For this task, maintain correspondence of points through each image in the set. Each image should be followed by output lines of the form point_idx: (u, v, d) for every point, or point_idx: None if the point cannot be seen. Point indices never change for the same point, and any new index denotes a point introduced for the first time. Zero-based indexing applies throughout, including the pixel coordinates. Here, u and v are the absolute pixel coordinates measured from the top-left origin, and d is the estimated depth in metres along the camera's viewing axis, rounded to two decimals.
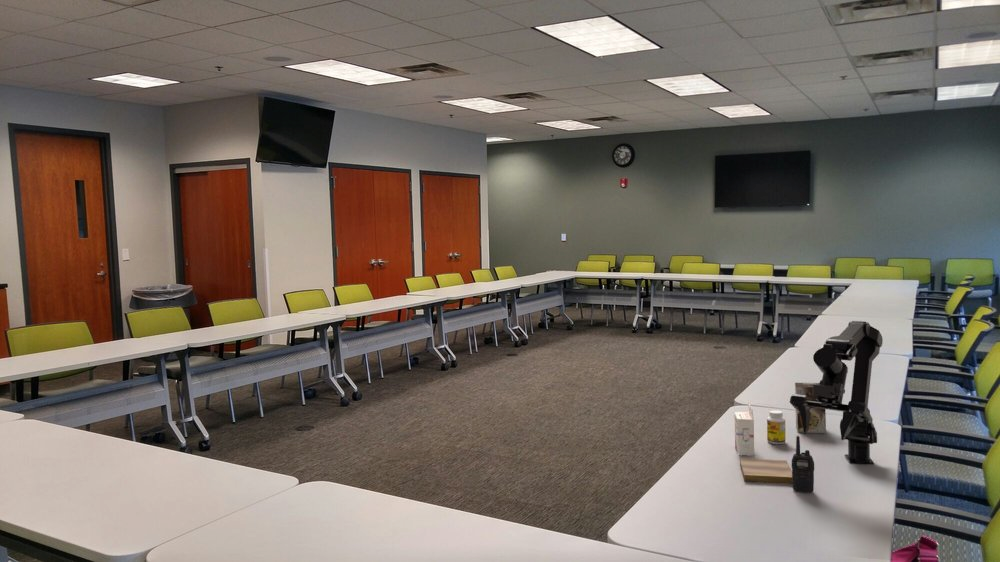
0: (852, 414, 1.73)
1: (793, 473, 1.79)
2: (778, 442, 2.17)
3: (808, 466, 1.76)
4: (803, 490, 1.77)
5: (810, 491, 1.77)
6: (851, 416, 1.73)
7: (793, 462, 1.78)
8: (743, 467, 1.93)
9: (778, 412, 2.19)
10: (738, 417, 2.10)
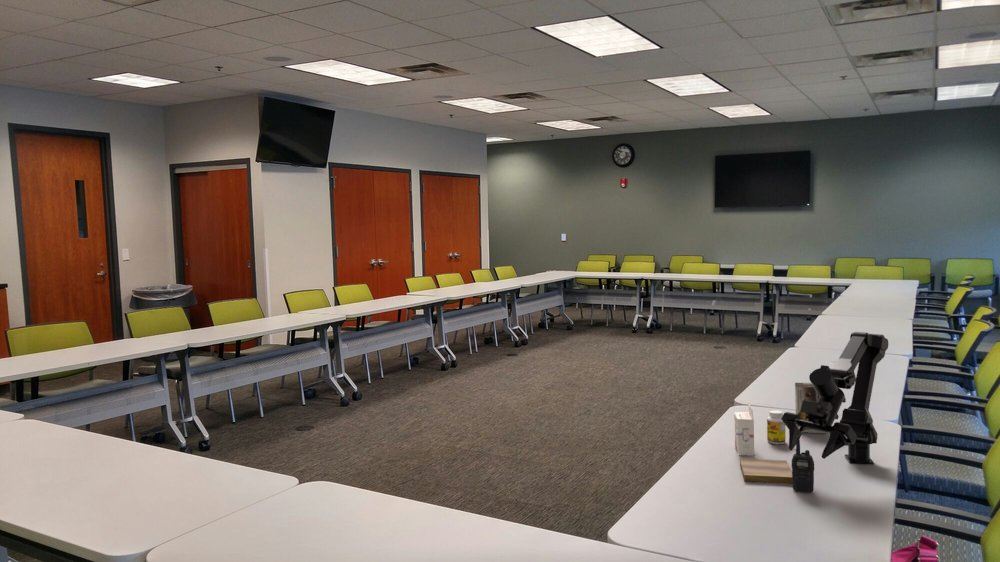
0: (835, 433, 1.75)
1: (793, 473, 1.79)
2: (778, 442, 2.17)
3: (808, 466, 1.76)
4: (803, 490, 1.77)
5: (810, 491, 1.77)
6: (834, 435, 1.76)
7: (793, 462, 1.78)
8: (743, 467, 1.93)
9: (778, 412, 2.19)
10: (738, 417, 2.10)
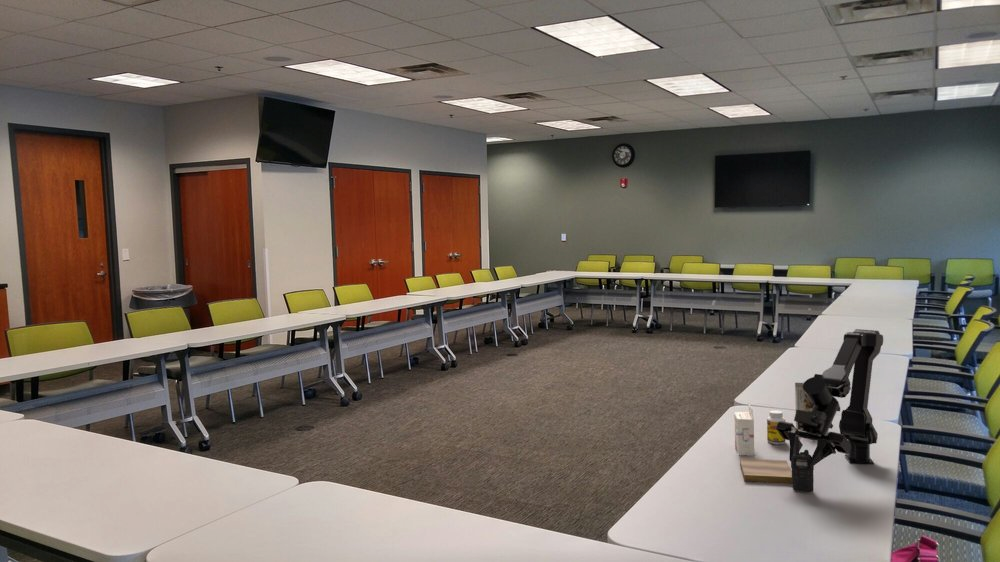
0: (823, 442, 1.75)
1: (793, 473, 1.79)
2: (778, 442, 2.17)
3: (807, 466, 1.77)
4: (803, 490, 1.77)
5: (810, 491, 1.77)
6: (822, 444, 1.75)
7: (792, 462, 1.78)
8: (743, 467, 1.93)
9: (778, 412, 2.19)
10: (738, 417, 2.10)
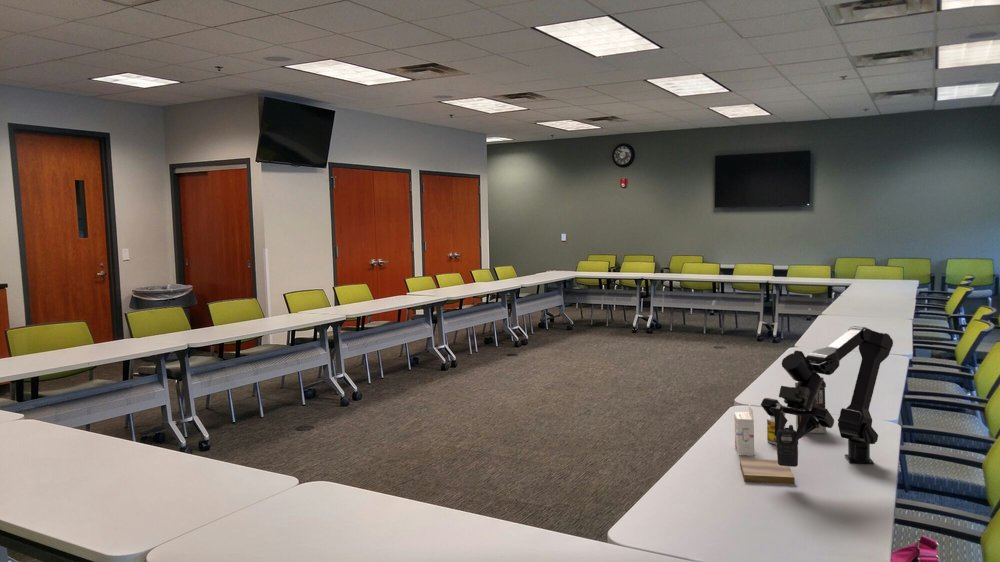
0: (807, 416, 1.79)
1: (778, 448, 1.83)
2: None
3: (792, 441, 1.81)
4: (788, 464, 1.81)
5: (795, 465, 1.81)
6: (806, 418, 1.80)
7: (777, 437, 1.83)
8: (743, 467, 1.93)
9: None
10: (738, 417, 2.10)
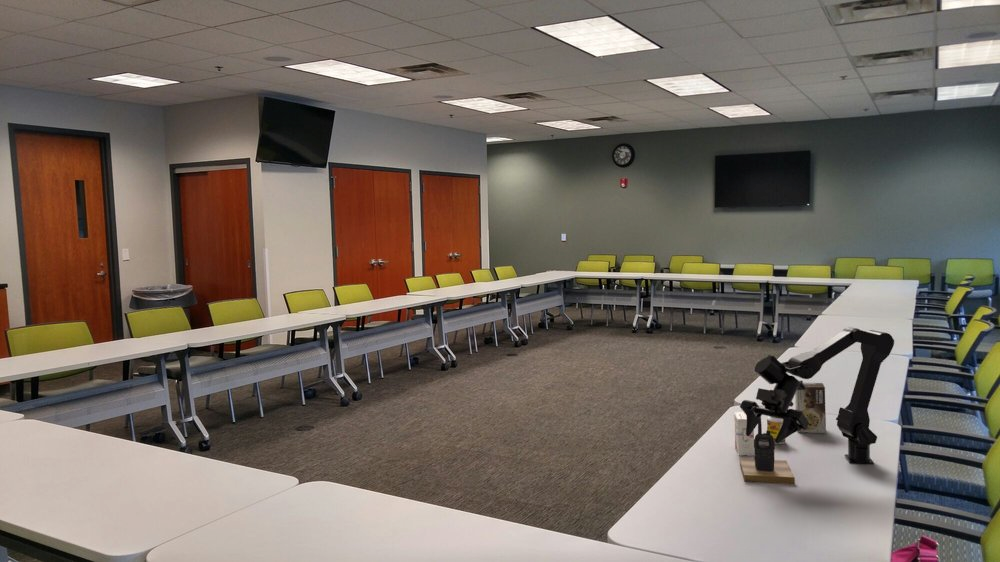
0: (788, 419, 1.85)
1: (755, 452, 1.90)
2: None
3: (768, 445, 1.88)
4: (764, 468, 1.89)
5: (771, 469, 1.88)
6: (787, 421, 1.85)
7: (755, 442, 1.90)
8: (743, 467, 1.93)
9: None
10: (738, 417, 2.10)
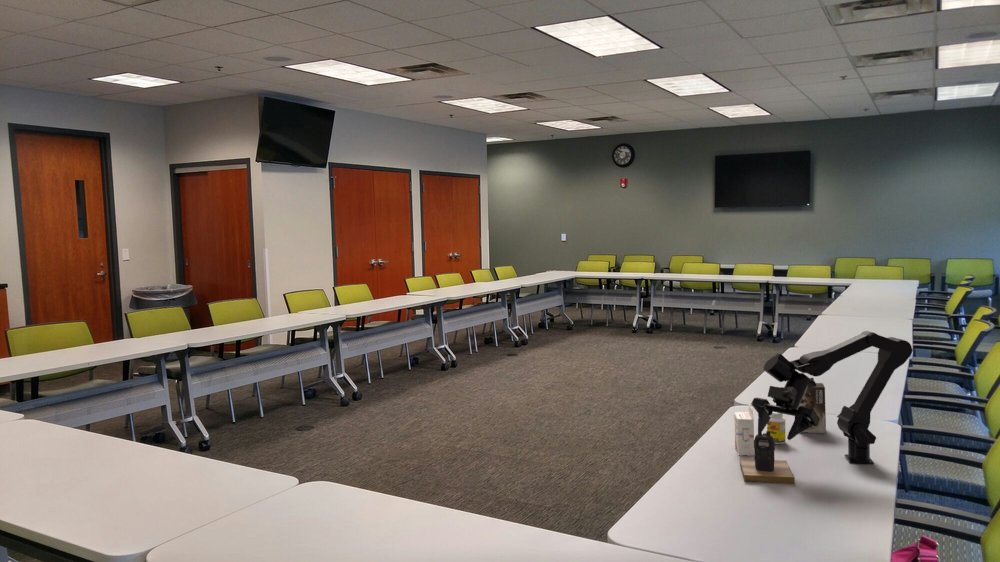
0: (800, 416, 1.88)
1: (755, 453, 1.90)
2: (778, 442, 2.17)
3: (768, 446, 1.88)
4: (764, 468, 1.89)
5: (771, 469, 1.88)
6: (799, 418, 1.88)
7: (755, 442, 1.90)
8: (743, 467, 1.93)
9: None
10: (738, 417, 2.10)
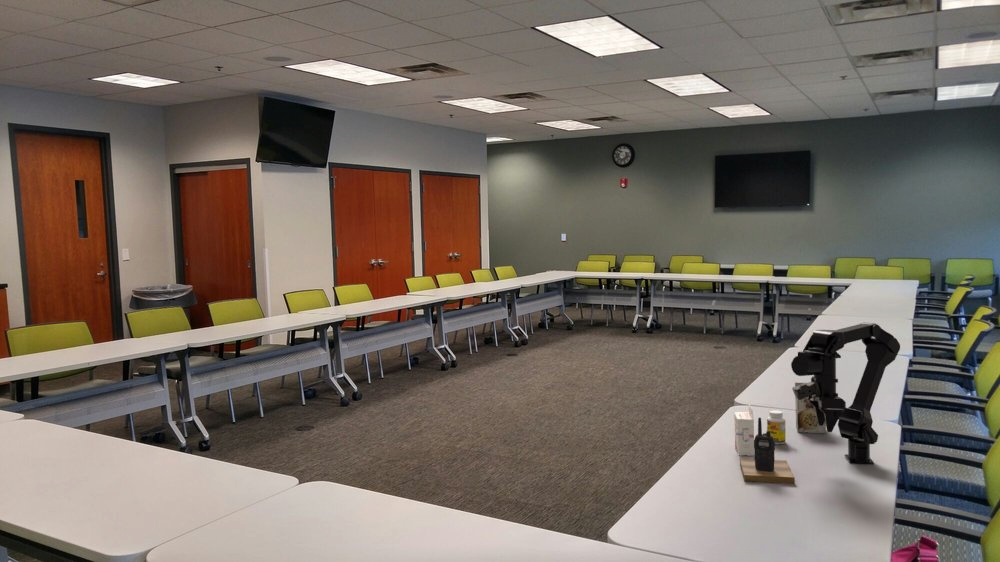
0: (821, 410, 1.86)
1: (755, 453, 1.90)
2: (778, 442, 2.17)
3: (769, 446, 1.88)
4: (764, 468, 1.89)
5: (771, 469, 1.88)
6: (822, 411, 1.86)
7: (755, 442, 1.90)
8: (743, 467, 1.93)
9: (778, 412, 2.19)
10: (738, 417, 2.10)
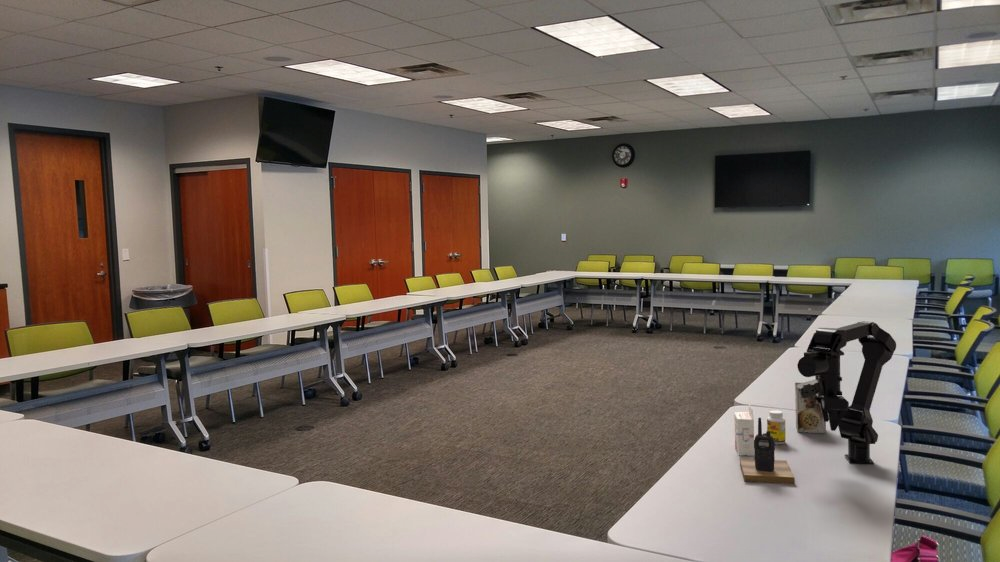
0: (824, 409, 1.86)
1: (755, 453, 1.90)
2: (778, 442, 2.17)
3: (769, 446, 1.88)
4: (764, 468, 1.89)
5: (771, 469, 1.88)
6: (826, 411, 1.86)
7: (755, 442, 1.90)
8: (743, 467, 1.93)
9: (778, 412, 2.19)
10: (738, 417, 2.10)
